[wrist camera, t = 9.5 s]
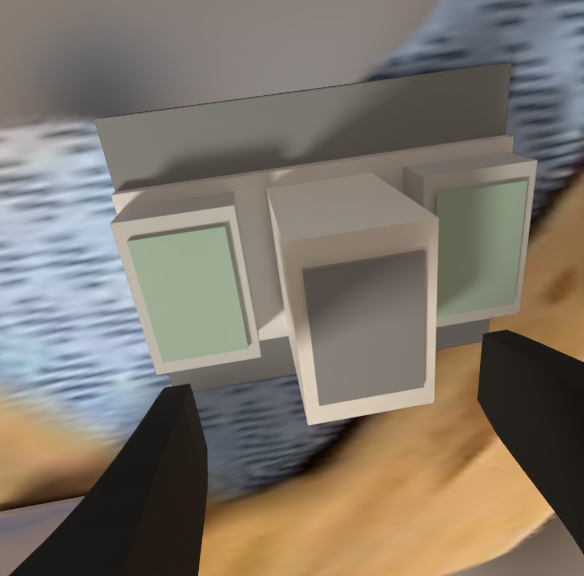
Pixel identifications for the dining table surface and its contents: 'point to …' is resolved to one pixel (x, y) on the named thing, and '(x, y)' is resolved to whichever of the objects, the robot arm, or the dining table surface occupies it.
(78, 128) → the dining table surface
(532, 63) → the dining table surface
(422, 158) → the mounting board
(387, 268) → the module block
